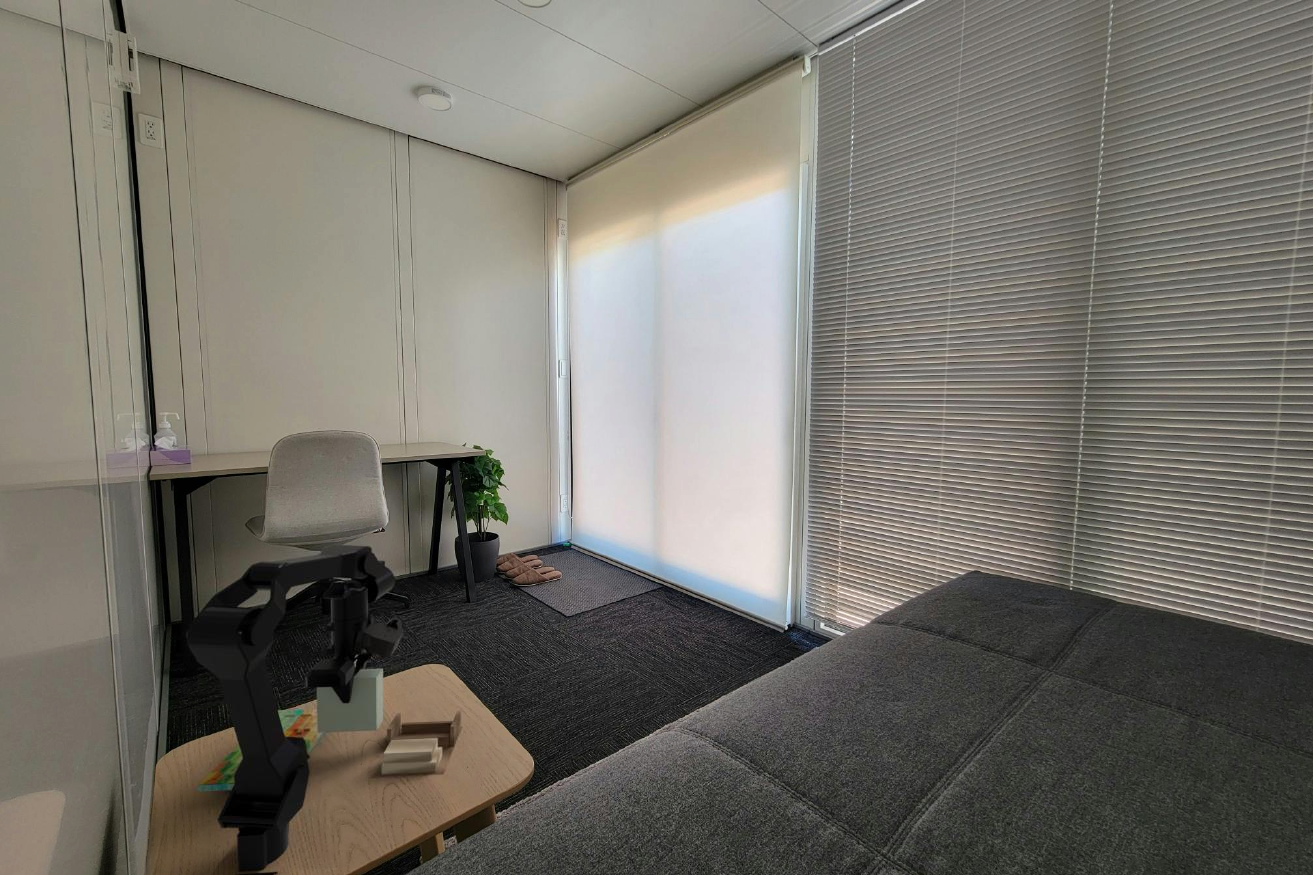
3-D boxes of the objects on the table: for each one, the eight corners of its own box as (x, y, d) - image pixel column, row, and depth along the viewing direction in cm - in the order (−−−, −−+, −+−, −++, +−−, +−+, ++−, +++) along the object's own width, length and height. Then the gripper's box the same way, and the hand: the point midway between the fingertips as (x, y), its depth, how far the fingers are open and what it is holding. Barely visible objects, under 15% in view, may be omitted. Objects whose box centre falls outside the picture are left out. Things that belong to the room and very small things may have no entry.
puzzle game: (337, 704, 105) (275, 776, 85) (338, 726, 106) (276, 803, 86) (275, 705, 104) (197, 779, 84) (275, 728, 104) (198, 806, 85)
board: (376, 730, 95) (376, 677, 94) (317, 732, 94) (316, 678, 93) (383, 720, 98) (382, 668, 97) (325, 722, 97) (325, 670, 96)
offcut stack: (435, 771, 92) (435, 752, 92) (381, 774, 91) (381, 755, 91) (442, 756, 96) (442, 737, 96) (390, 758, 95) (390, 739, 95)
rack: (443, 778, 92) (443, 751, 92) (371, 782, 91) (371, 755, 90) (462, 731, 105) (462, 707, 104) (399, 733, 103) (398, 709, 103)
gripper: (375, 637, 86) (376, 728, 87) (414, 594, 104) (414, 669, 105) (302, 638, 84) (304, 730, 86) (355, 594, 103) (355, 671, 104)
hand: (350, 697), depth 95 cm, fingers closed on board, 3 cm apart
